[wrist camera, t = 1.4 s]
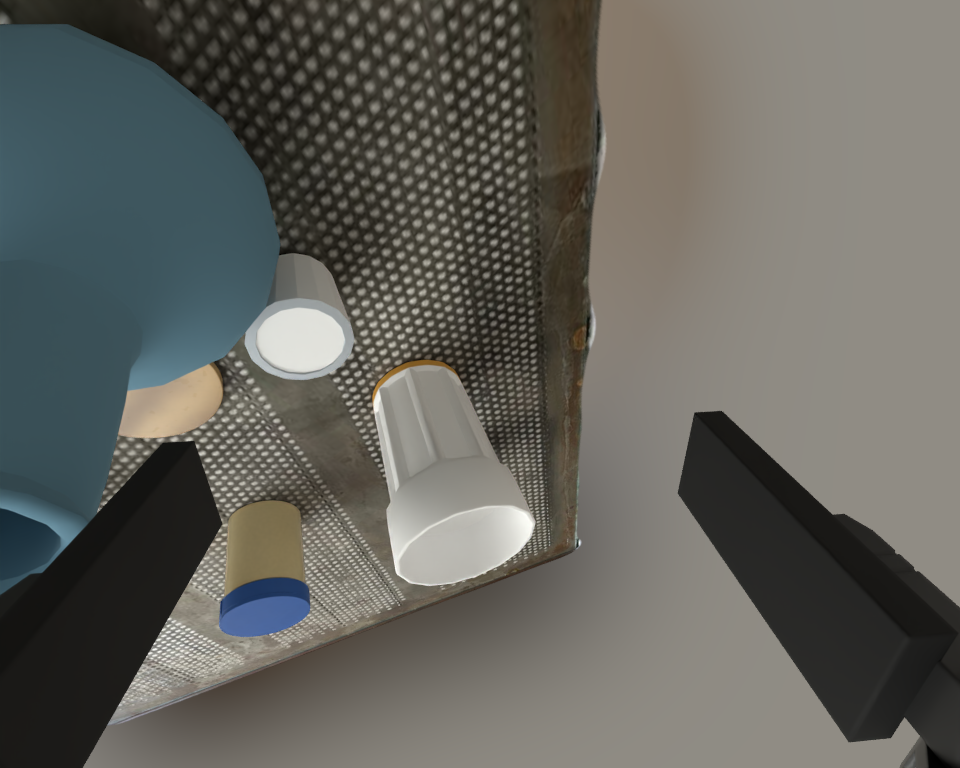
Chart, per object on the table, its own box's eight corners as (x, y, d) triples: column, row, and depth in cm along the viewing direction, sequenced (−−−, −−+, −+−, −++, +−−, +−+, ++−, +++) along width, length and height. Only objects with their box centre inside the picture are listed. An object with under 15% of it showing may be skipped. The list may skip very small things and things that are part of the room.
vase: (190, -30, 24) (15, 126, 7) (314, 260, 36) (362, 578, 19) (-189, 39, 21) (-1870, 533, 4) (79, 324, 33) (-105, 748, 17)
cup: (335, 396, 45) (361, 567, 34) (431, 329, 43) (495, 485, 32) (405, 445, 53) (446, 597, 42) (489, 391, 52) (556, 533, 40)
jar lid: (208, 620, 48) (206, 640, 46) (234, 577, 44) (234, 597, 43) (291, 616, 53) (292, 633, 51) (321, 577, 49) (323, 595, 48)
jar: (218, 537, 54) (212, 633, 47) (240, 496, 51) (237, 593, 43) (286, 540, 58) (290, 628, 51) (311, 503, 55) (318, 591, 48)
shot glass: (319, 231, 34) (328, 283, 30) (356, 305, 39) (369, 359, 35) (226, 264, 34) (221, 322, 29) (276, 335, 39) (278, 394, 34)
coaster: (44, 417, 37) (41, 425, 37) (68, 308, 32) (65, 315, 32) (202, 440, 44) (201, 447, 43) (241, 352, 39) (241, 358, 38)
